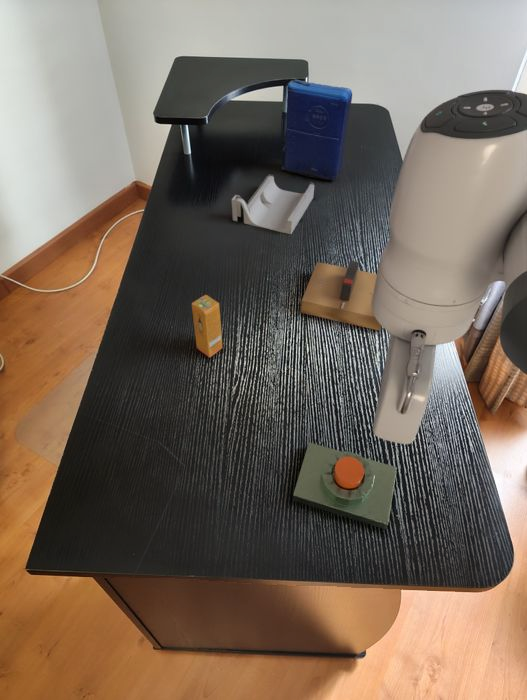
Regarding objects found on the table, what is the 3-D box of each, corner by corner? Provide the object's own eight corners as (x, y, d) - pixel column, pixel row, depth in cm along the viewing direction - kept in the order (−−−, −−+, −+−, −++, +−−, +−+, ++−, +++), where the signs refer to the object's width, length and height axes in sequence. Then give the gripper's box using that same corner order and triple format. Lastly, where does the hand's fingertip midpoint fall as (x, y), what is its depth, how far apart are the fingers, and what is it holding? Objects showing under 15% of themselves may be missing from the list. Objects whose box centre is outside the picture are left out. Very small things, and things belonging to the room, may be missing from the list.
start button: (364, 467, 61) (366, 461, 60) (359, 492, 59) (361, 486, 58) (336, 459, 62) (338, 453, 61) (330, 484, 60) (332, 478, 58)
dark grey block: (347, 275, 86) (350, 259, 83) (356, 277, 86) (359, 261, 83) (339, 299, 82) (342, 282, 79) (348, 301, 82) (352, 284, 79)
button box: (394, 472, 64) (400, 460, 62) (385, 529, 59) (391, 518, 57) (308, 448, 67) (309, 435, 64) (292, 500, 62) (293, 489, 59)
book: (279, 173, 115) (281, 84, 100) (286, 163, 118) (290, 75, 103) (336, 185, 111) (348, 94, 96) (342, 174, 115) (355, 85, 99)
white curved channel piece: (291, 234, 99) (292, 213, 95) (232, 220, 102) (231, 199, 98) (313, 197, 108) (315, 176, 104) (259, 186, 111) (259, 165, 107)
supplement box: (224, 347, 79) (220, 303, 71) (209, 358, 77) (203, 315, 70) (211, 336, 80) (205, 292, 73) (195, 348, 79) (188, 304, 71)
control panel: (389, 289, 88) (392, 276, 86) (379, 330, 81) (383, 317, 79) (315, 274, 91) (317, 260, 88) (300, 312, 84) (301, 299, 82)
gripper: (456, 397, 34) (414, 482, 45) (467, 235, 47) (432, 331, 58) (369, 377, 36) (348, 464, 46) (402, 225, 49) (379, 320, 59)
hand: (394, 389), depth 52 cm, fingers closed
